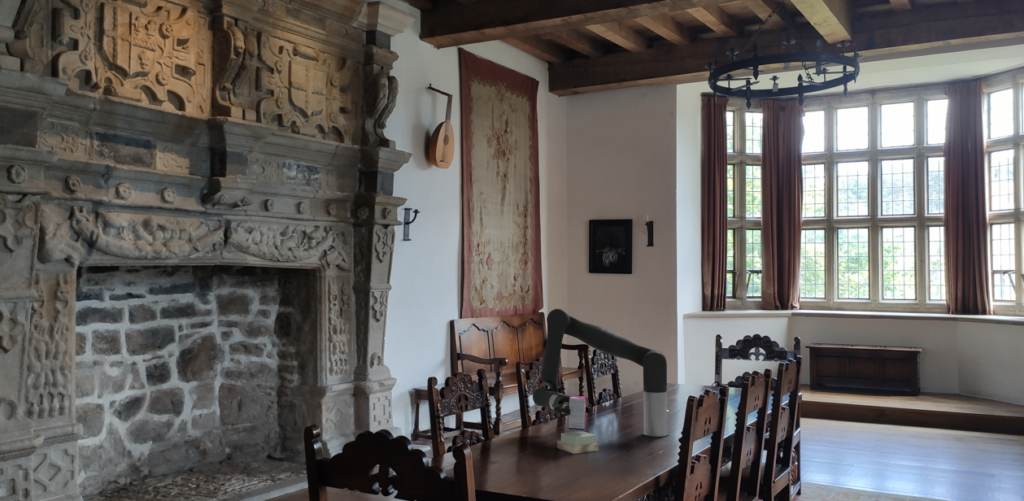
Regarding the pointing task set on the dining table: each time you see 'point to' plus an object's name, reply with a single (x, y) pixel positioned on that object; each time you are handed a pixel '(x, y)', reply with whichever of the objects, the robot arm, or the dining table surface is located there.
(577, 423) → the supplement box
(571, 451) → the birch base block
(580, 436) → the sage top block
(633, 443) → the dining table surface
